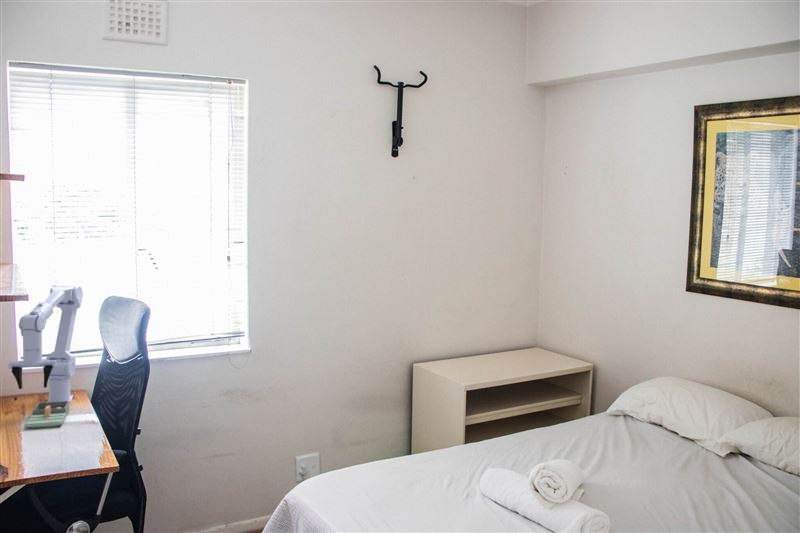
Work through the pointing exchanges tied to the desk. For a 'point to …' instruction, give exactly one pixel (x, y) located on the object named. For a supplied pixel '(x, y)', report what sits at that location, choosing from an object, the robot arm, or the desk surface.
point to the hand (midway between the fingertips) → (33, 387)
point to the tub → (52, 407)
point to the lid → (46, 419)
